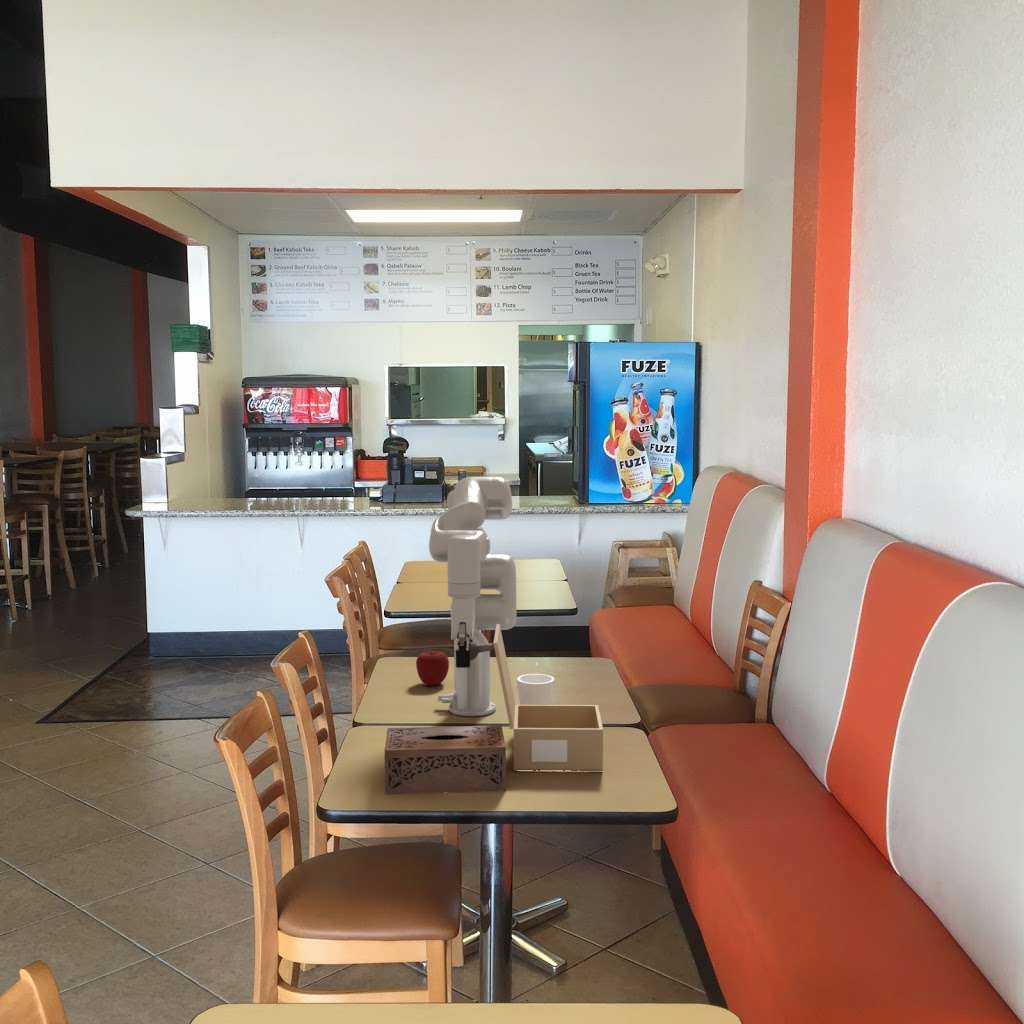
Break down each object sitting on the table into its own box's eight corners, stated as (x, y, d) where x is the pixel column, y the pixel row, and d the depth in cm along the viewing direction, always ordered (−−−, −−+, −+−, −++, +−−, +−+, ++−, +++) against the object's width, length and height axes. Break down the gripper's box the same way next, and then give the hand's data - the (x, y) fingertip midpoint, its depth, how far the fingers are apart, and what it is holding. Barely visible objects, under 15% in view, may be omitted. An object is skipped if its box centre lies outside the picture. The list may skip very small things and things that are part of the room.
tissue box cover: (501, 767, 233) (501, 725, 232) (505, 792, 218) (505, 747, 217) (388, 770, 231) (387, 728, 230) (385, 795, 217) (384, 750, 215)
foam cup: (535, 720, 266) (535, 671, 264) (561, 728, 259) (561, 678, 258) (509, 728, 259) (509, 678, 257) (535, 737, 252) (535, 686, 251)
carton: (513, 772, 229) (513, 729, 228) (515, 744, 247) (515, 704, 246) (602, 772, 229) (603, 729, 228) (597, 745, 247) (597, 705, 246)
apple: (420, 679, 304) (420, 646, 302) (452, 680, 302) (451, 647, 301) (413, 688, 294) (412, 654, 293) (445, 689, 293) (445, 655, 292)
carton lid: (513, 728, 228) (471, 735, 228) (515, 703, 246) (475, 710, 247) (497, 642, 226) (454, 650, 226) (499, 623, 244) (460, 631, 244)
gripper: (450, 582, 242) (451, 652, 244) (444, 596, 225) (445, 671, 227) (482, 582, 242) (482, 652, 244) (478, 596, 225) (478, 671, 227)
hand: (464, 661), depth 236 cm, fingers open, 9 cm apart
